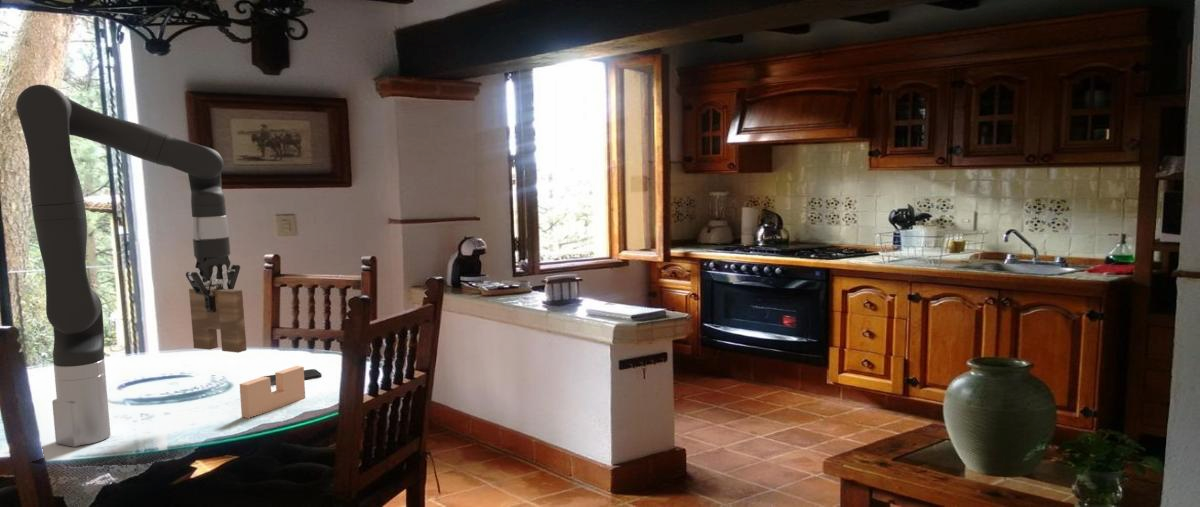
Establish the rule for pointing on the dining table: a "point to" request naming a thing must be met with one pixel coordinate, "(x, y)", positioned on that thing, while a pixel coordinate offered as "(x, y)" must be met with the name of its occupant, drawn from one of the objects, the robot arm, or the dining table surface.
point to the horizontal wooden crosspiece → (263, 400)
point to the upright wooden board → (219, 321)
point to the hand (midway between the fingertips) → (216, 310)
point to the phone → (307, 375)
